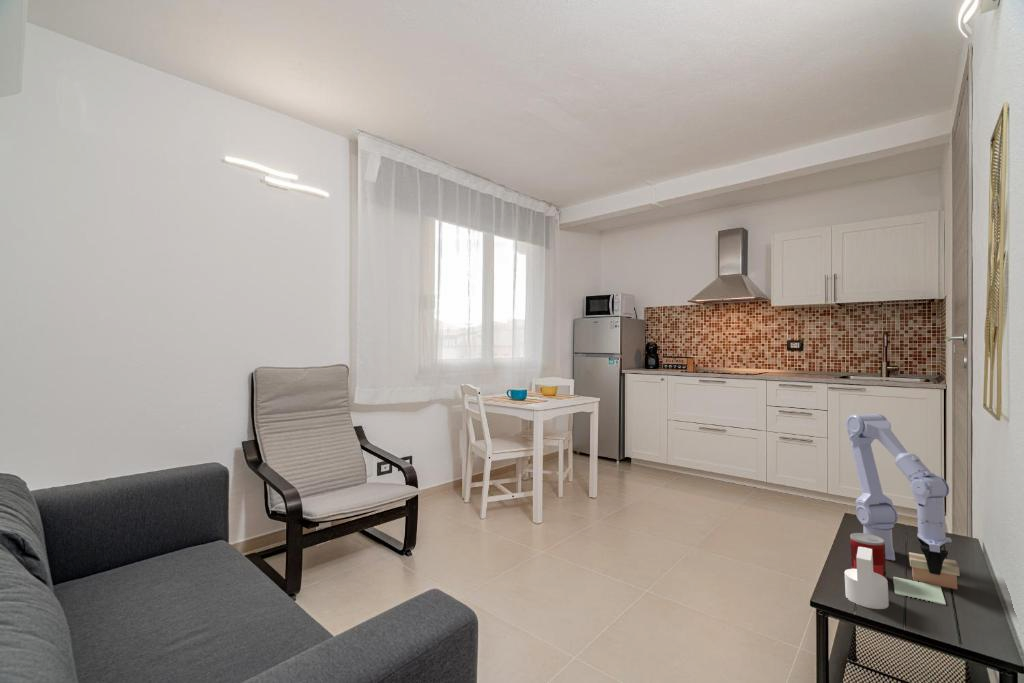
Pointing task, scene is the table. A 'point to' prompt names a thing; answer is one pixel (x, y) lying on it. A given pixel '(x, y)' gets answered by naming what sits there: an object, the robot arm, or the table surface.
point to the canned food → (872, 543)
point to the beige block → (921, 562)
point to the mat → (918, 590)
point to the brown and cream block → (934, 578)
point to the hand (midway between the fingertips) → (933, 569)
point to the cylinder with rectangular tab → (866, 582)
